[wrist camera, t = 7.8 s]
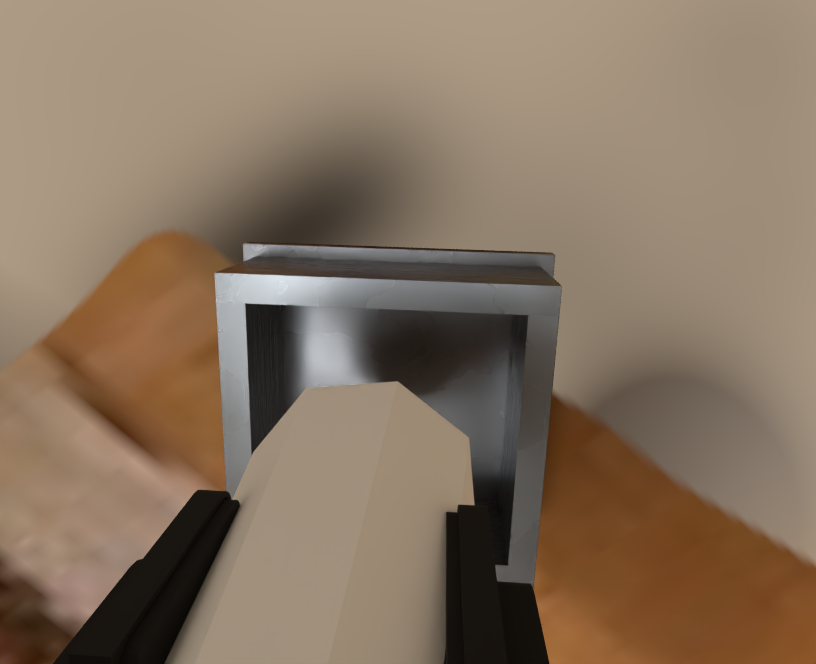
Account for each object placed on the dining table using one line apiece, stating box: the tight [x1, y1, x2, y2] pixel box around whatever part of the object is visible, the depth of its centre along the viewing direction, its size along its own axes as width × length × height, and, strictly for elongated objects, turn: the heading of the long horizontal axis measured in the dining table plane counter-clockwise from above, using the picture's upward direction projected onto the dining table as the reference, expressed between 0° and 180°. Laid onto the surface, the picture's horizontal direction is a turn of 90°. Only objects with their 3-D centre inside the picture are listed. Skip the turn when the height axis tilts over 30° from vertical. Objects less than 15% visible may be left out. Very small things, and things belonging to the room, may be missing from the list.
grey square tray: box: [215, 242, 562, 588], centre depth 19 cm, size 10×10×4 cm
